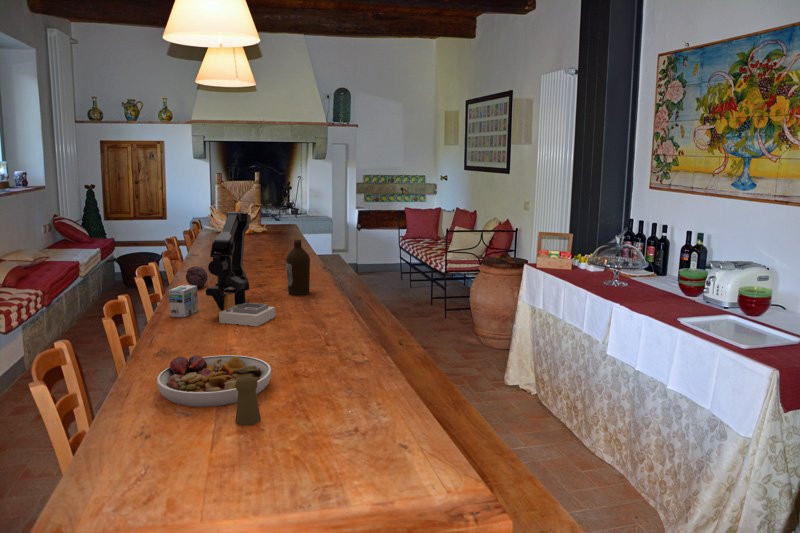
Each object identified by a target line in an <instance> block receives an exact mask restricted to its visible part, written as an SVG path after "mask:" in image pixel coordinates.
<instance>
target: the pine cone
mask: <svg viewBox="0 0 800 533" xmlns="http://www.w3.org/2000/svg"><path fill="white" fill-rule="evenodd" d="M208 278H209V277H208V273H207V271H206V269H204V267H200V266H196V265H195V266H190V267H189V268H188V269H187V271H186V274H185V279H186V280H185V281H187V282H186V283H187V284H189V285H192V286H197V287H202V286H204V285H205V284H206V283H207V281H208V280H209V279H208Z"/></svg>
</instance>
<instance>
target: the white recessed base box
mask: <svg viewBox="0 0 800 533" xmlns="http://www.w3.org/2000/svg"><path fill="white" fill-rule="evenodd" d="M247 308H256V309H255V310H254V309H247ZM218 318H219V324H225V323H226V325H228V324H229V325H236V324H239V326H247V325H250V326H249V327H260V326H261V325H263V324H265V323H267V322H268V321H271V320H272V319H274V318H276V307H275V306H269V304H267V303H266V304H265V303H256V302H255V303H254V302H248V303H244V304H238V305H235V306H233V307H231V308H229V309H226V310H224V311H222V312H219V315H218ZM270 319H271V320H270Z"/></svg>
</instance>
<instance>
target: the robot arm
mask: <svg viewBox="0 0 800 533" xmlns="http://www.w3.org/2000/svg"><path fill="white" fill-rule="evenodd" d="M251 222H252V216H251V215H250V214H249V213H248V212H247V211H244V212H241V211H229V212H227V213H226V220H225V222H224V225H223V227H222V230H221V232H220V233H219V234H218V235H216V236H215V238H214V240H213V241H212V243H211V244H212V245H211V250H210V256H209V257H210V258H212V260H211V261H210V262H209V263H208V266H207V267H208V268H207V269H208V272H209V273H210V274H211V275H213V276H214V277H216V278H217V281H216V283H215V285H214V286H209V287H207V288H206V289H205V296H210V297H211V298H213V300H214V301H215V304H216V306H217V305H218V307H219V309H220V310H221V311H223V310H224V298H225V296H226V295H227V294H224V293H234V294H235V305H238V304H244V303H250V301H249V300H246V291H249V290H250V282H249V280H248V277H247V272H246V271H245V269H244V252H245V251H244V250H245V249H244V248H245V235H246V233H247V231H248V230H249V228H250V224H251Z"/></svg>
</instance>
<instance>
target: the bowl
mask: <svg viewBox="0 0 800 533" xmlns="http://www.w3.org/2000/svg"><path fill="white" fill-rule="evenodd" d="M242 376H253V377H255V378H256V379H257V382H258V385H257V388H256V395H258V394H260V393H261V392H262V391H263V390H265V388H267V386H268V384H269V383H270V381H271V378H272V367H271V365H270V364H269V363H268V362H267V361H264V360H263V359H260V358H256V357H252V356H245V355H233V354H231V355H229V354H227V355H211V356H203V357H202V356H201V355H199V354H197V355H193V356H190V357H189V359H188V358H186V357H185V356H178V357H175V358H174V359H172V361H170V363H169V367H166V368H165V369H164V370H162V371H161V372H160V373H159V374H158V376H156V385H157V388H158V390H159V392H160V394H161V395H162V396H163V397H164V398H165V399H167V400H168V401H170V402H173V403H174V404H178V405H181V406H187V407H198V408H200V407H201V408H204V407H205V408H207V407H209V408H210V407H220V406H225V405H226V406H227V405H231V404H237V399H238V391H237V389H236V386H235V384H236V380H237V379H238V378H239V377H242Z"/></svg>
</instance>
